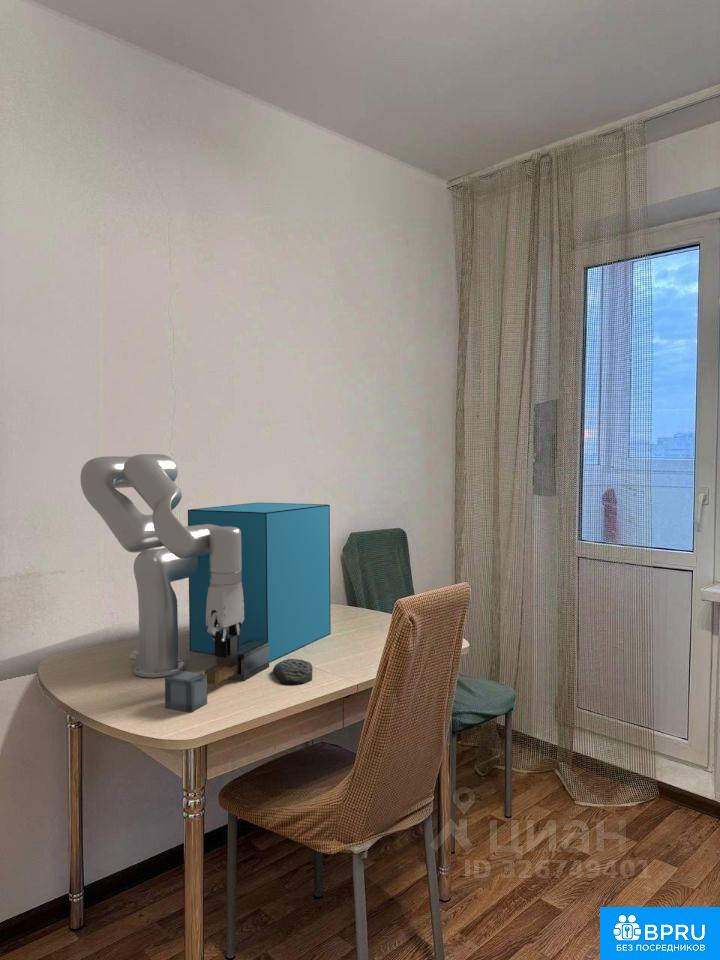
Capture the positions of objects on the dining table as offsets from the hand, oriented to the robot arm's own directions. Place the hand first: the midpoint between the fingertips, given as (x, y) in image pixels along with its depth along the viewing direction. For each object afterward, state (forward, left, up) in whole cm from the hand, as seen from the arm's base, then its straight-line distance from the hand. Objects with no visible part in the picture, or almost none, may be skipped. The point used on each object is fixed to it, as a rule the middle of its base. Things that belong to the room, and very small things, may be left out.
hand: (226, 653), depth 161 cm
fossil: (+12, +11, -8) cm, 18 cm away
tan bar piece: (0, +4, -5) cm, 7 cm away
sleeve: (0, +9, -7) cm, 12 cm away
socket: (0, -16, -7) cm, 17 cm away
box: (-11, +35, -8) cm, 37 cm away
